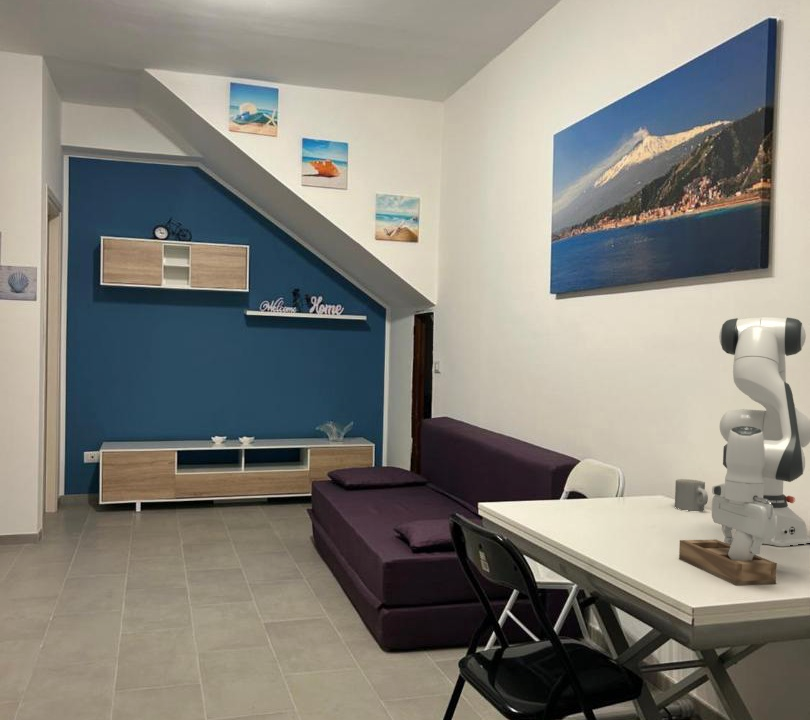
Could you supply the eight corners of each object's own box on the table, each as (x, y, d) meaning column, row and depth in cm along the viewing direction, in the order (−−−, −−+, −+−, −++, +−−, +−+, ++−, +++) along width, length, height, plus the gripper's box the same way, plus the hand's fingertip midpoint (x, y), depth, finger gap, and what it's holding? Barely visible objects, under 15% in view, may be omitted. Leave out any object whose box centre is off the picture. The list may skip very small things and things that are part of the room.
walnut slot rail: (715, 557, 213) (716, 539, 213) (775, 583, 190) (776, 563, 190) (679, 558, 211) (679, 540, 211) (735, 585, 187) (736, 564, 187)
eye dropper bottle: (743, 555, 197) (757, 515, 193) (751, 569, 192) (765, 528, 188) (726, 552, 197) (740, 512, 193) (733, 566, 192) (747, 525, 188)
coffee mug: (669, 506, 288) (670, 478, 288) (694, 506, 289) (695, 479, 289) (688, 513, 275) (689, 485, 275) (714, 513, 276) (715, 485, 276)
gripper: (784, 500, 185) (781, 559, 184) (729, 486, 204) (727, 539, 204) (760, 500, 183) (758, 559, 183) (707, 486, 203) (705, 539, 203)
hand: (741, 548), depth 194 cm, fingers open, 8 cm apart
